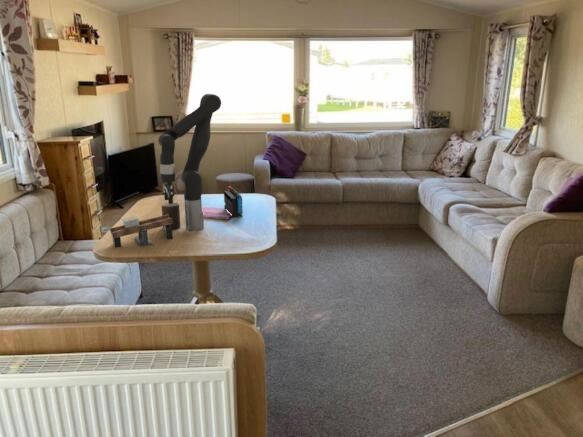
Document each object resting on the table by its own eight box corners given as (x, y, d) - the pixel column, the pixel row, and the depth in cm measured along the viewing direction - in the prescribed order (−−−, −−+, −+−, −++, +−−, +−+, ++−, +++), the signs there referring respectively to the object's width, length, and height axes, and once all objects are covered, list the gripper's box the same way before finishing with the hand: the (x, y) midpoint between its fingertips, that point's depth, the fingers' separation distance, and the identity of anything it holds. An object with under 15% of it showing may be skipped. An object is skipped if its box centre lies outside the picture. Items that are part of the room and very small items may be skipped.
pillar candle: (176, 230, 260) (174, 204, 256) (159, 229, 262) (158, 203, 258) (183, 225, 269) (182, 200, 265) (167, 224, 271) (166, 199, 267)
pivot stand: (167, 233, 256) (166, 216, 253) (174, 241, 244) (173, 224, 241) (112, 241, 243) (110, 224, 240) (116, 250, 231) (114, 232, 228)
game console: (244, 218, 284) (243, 195, 279) (234, 219, 281) (233, 195, 277) (232, 206, 308) (231, 184, 304) (223, 207, 306) (222, 185, 302)
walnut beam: (168, 218, 251) (167, 213, 251) (173, 223, 244) (172, 218, 243) (111, 233, 239) (109, 228, 238) (113, 238, 231) (112, 233, 230)
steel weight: (138, 224, 242) (136, 215, 241) (140, 227, 238) (138, 218, 237) (124, 228, 240) (122, 219, 238) (126, 231, 235) (123, 221, 234)
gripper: (178, 174, 245) (179, 204, 249) (171, 169, 256) (172, 198, 261) (163, 175, 241) (165, 205, 246) (157, 170, 253) (158, 199, 258)
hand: (168, 201), depth 253 cm, fingers open, 8 cm apart
